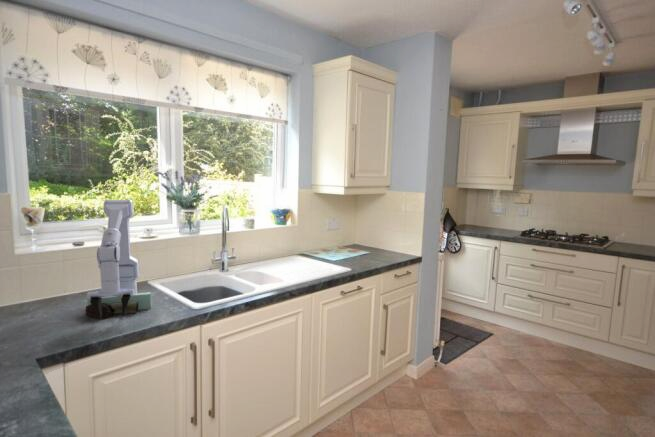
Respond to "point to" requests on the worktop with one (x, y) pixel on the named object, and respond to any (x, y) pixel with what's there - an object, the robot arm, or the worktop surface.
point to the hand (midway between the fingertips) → (112, 315)
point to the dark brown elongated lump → (111, 309)
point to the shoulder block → (130, 300)
